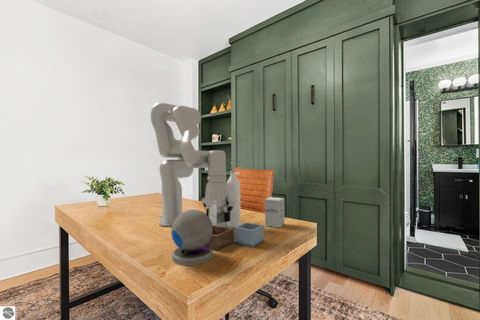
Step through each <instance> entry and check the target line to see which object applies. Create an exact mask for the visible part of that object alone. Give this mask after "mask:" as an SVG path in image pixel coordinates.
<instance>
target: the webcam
mask: <svg viewBox="0 0 480 320" xmlns="http://www.w3.org/2000/svg"><path fill="white" fill-rule="evenodd" d="M170 231H171V238H172V241H173V242H174V244H175V246H176V247H177V248H176V249H174V250H173V252H172V255H171V260H172V262H174V263H175V264H176V265H182V266H194V265H200V264H203V263H206V262H208V261H210V260H211V259H212V258H213V257H214V250H212V249H208V248H205V246H206V245H207V244H208V242H209V241H210V239H211V236H212V232H213V226H212V222H211V220H210V218H209V217H208V216H207V215H206V212H203V210H202V211H201V210H199V209H188V210H185V211H182V213H181V214H180V215H179V216H178V217H177V218H176V219H175V221H174V223H173V225H172V226H171V230H170Z"/></svg>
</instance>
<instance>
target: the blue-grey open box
mask: <svg viewBox="0 0 480 320" xmlns="http://www.w3.org/2000/svg"><path fill="white" fill-rule="evenodd" d="M263 242H265V224H259V223H258V224H257V223H253V222H252V223H251V222H244V223H241V225H239V226H236V227H235V228H234V244H235V245H240V246H244V247H248V248H251V249H252V248H253V249H254V248H256V247H257V246H258V245H261V243H263Z"/></svg>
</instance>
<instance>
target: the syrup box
mask: <svg viewBox="0 0 480 320" xmlns="http://www.w3.org/2000/svg"><path fill="white" fill-rule="evenodd" d="M212 202H213V206H212V207H209V206H208V217H209V218H210V220H211V222H212V226H213V225H215V226H221V227H226V228H228V226H227V222H224V212H225V210H224V209H223V207H222V208H218V207H217V201H214V200H213V201H212ZM226 202H227V201H226Z"/></svg>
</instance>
